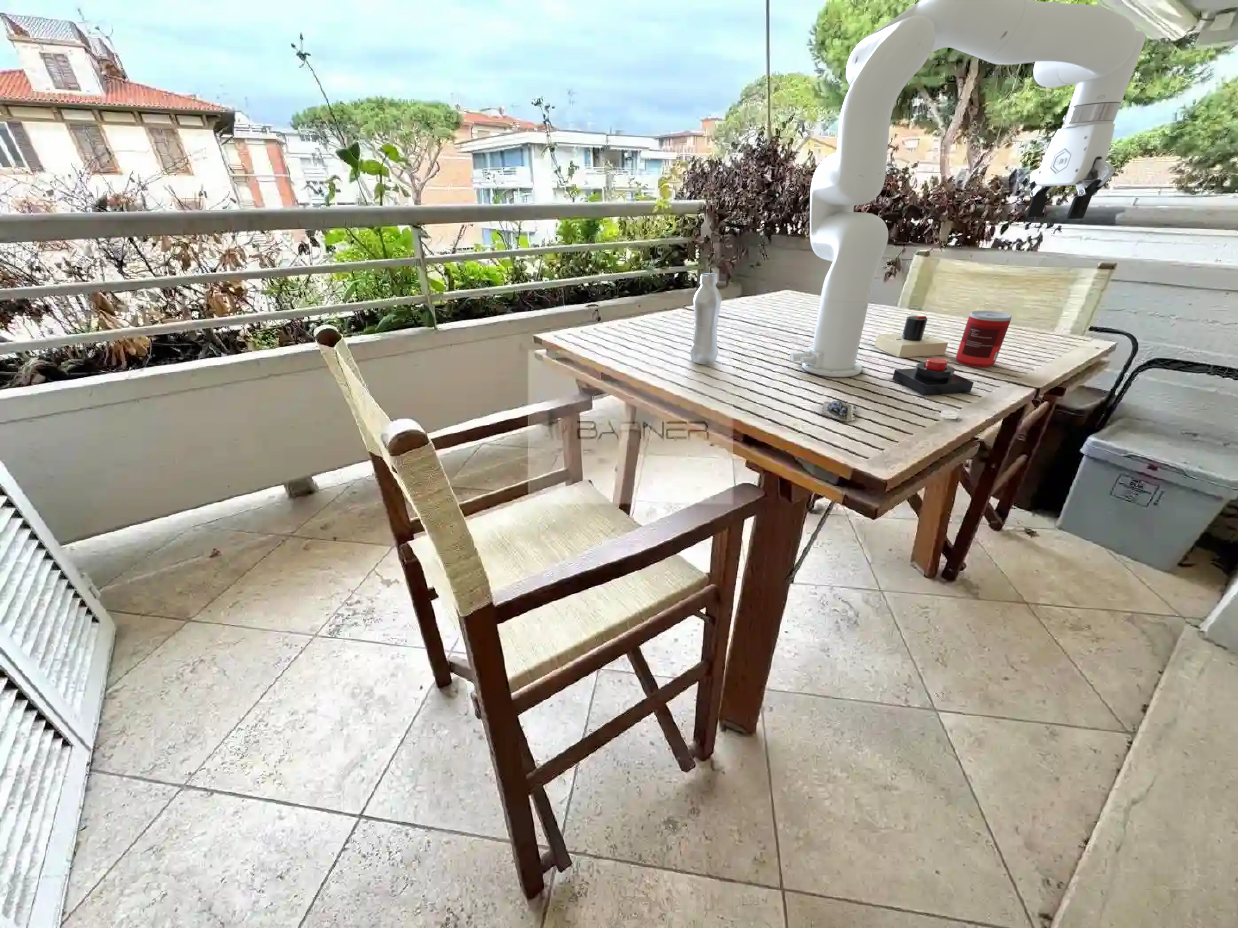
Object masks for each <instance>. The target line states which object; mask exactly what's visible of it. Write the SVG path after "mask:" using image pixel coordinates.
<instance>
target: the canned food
mask: <svg viewBox="0 0 1238 928" xmlns="http://www.w3.org/2000/svg"><path fill="white" fill-rule="evenodd" d="M1012 317H1013V316H1012V315H1011V314H1009V313H1006V312H1002V311H995V310H973V311H971V312H970V313H969V315H968V318H967V321H966V325H965V327H964V330H963V333H962V336H961V340H960V343H959V345H958V349H957V353H956V355H955V361H956V363H958V364H961V365H963V366H967V367H972V368H980V369H981V368H991V367H994V365H995V364H996V361H997V358H998V356H999V353H1000V350H1001V348H1002V345H1003V343H1004V340H1005V338H1006V335H1007V332H1008V329H1009V326H1010V323H1011V321H1012Z"/></svg>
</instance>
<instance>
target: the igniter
mask: <svg viewBox="0 0 1238 928" xmlns="http://www.w3.org/2000/svg"><path fill="white" fill-rule="evenodd" d="M926 362H927V361H925V362H919V363H917V364H916V365H915V368H900V369H897V368H896V369H894V372H893V375H892V380H893V381H895V382H896V383H899V384H900V385H902V386H904V387H906V388H908V389H910V390H912V391H913V392H916V393H918V394H919V395H921V396H923V397H926V396H928V397H929V396H941V395H942V396H943V395H955V394H969V393H971V392H972V389H973V386H974V383H975V382H974V381H972V380H969V379H967V378H965V377H963V376H960V375H958V374H956V373H955V370H956V369H955V368H954V367H953V366H951V365H948V364H947V366H946V370H932V369H928V368H925V365H926Z"/></svg>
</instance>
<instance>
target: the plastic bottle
mask: <svg viewBox="0 0 1238 928" xmlns="http://www.w3.org/2000/svg"><path fill="white" fill-rule="evenodd" d="M699 284H700V286H699V288H698V289H697V291H696V292H695V294H694V297H693V299H692V300H693V302H692V303H693V315H694V321H693V322H694V323H693V324H694V327H693V328H694V329H693V337H692V342H691V346H690V352H689V354H690V359H691V361H692V362H693V363H695V364H698V365H699V364H700V365H710V364H713V363H714V362H715V361H716V360H717V358H718V354H719V349H718V348H719V346H718V323H719V315H720V311H721V307H722V302H723V301H722V300H723V298H722V294H721V292H720V290H719V289H718V287H717V284H718V274H717V273H713V272H711V273H710V272H708V273H707V272H706V273H701V274H700V280H699Z"/></svg>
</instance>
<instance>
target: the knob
mask: <svg viewBox="0 0 1238 928" xmlns="http://www.w3.org/2000/svg"><path fill="white" fill-rule="evenodd" d="M927 323H928V318H927V315H921V316H920V315H919V316H918V315H909V316H906V320H905V324H904V327H903V330H902V333H901V334H902V338H903V339H905V340H911V341H919V340H922V337H923V334H925V330H926V326H927Z"/></svg>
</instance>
